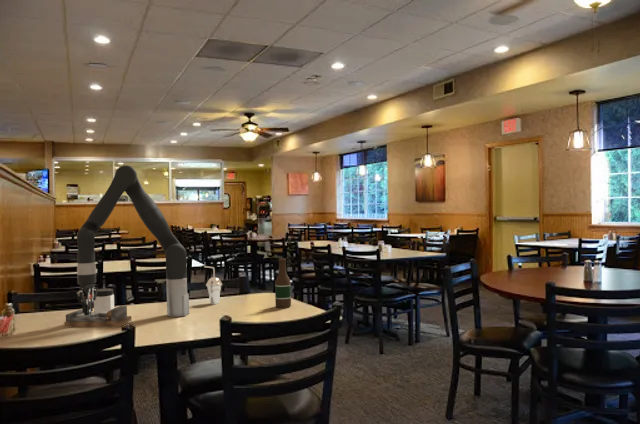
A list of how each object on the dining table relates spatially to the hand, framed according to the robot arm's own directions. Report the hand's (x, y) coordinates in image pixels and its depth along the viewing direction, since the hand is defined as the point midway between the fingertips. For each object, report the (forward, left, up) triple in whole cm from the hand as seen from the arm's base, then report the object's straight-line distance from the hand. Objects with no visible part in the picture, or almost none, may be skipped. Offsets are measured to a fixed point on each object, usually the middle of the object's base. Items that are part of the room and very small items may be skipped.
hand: (87, 311), depth 214 cm
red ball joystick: (-1, 0, -3) cm, 3 cm away
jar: (+2, -17, -5) cm, 18 cm away
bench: (-5, 0, -5) cm, 7 cm away
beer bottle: (-81, -36, -5) cm, 89 cm away
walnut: (-11, 0, -3) cm, 11 cm away
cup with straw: (-43, -44, -5) cm, 62 cm away
